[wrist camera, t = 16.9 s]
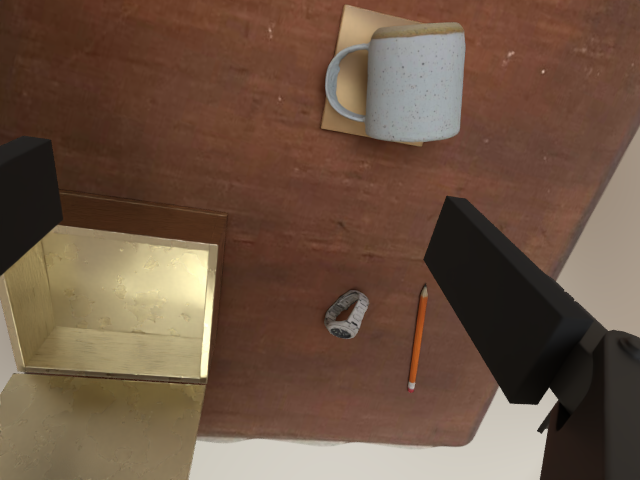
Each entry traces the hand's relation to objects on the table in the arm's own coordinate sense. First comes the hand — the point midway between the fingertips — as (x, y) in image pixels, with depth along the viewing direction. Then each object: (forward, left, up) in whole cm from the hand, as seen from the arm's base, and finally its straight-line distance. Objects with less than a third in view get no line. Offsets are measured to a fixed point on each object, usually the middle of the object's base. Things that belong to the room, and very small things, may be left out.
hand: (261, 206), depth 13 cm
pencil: (+27, +23, -25) cm, 43 cm away
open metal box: (+21, -12, -24) cm, 34 cm away
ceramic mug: (-3, +10, -24) cm, 26 cm away
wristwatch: (+22, +12, -25) cm, 35 cm away
